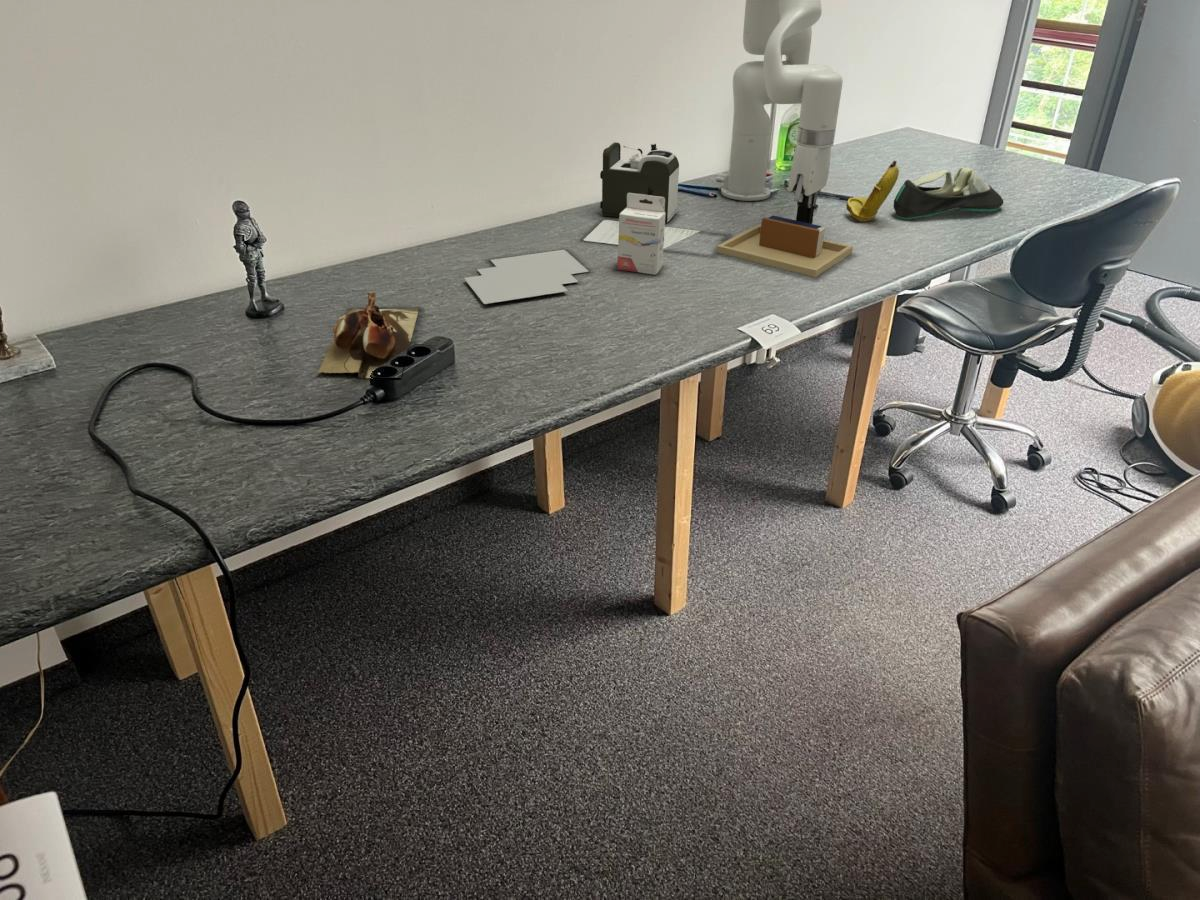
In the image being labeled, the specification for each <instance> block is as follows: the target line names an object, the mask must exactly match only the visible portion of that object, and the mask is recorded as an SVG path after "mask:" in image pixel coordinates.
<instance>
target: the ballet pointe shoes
mask: <svg viewBox="0 0 1200 900" xmlns="http://www.w3.org/2000/svg"><path fill="white" fill-rule="evenodd" d="M366 294H367V300H366V306H365V308H364V309H361V308H360V309H349V310H348V312H347V313H344V314H343V315H342V316H340V317H339V318H338V319H336V325H335V326H334V327H333V329H332V331H333V339H332V341H331V343H330V346H329V347H328V350H327V352H326V353H325V355H324V358H323V359H322V363H320V367H319V368H318V371H316V372H317V374H321V373H324V374H332V373H333V374H336V373H337V374H345V373H347V374H348V373H349V374H354V373H357V377H358V379H361V380H362V379H372V378H371V377H370V375H371V373H372V371H374V370H375V369H376V368H378V367H379V366H380V365H382V364H384V363H386V362H388V361H389V360H390V359H391V358H393V357H395V356H396V355H398V354H400V353H401V352H403V351H405V350H407V349H409V350H410V344H411V343H412V338H413V334H414V330H415V327H416V321H417V318H418V316H419V315H418V314H419V310H420V308H419V307H413V308H412V307H409V308H408V307H405V308H403V307H402V308H380V306H379V305H378V306H377V305H375V304H376V298H377V297H376V295H377V294H376V292H375V291H366Z"/></svg>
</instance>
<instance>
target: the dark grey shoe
mask: <svg viewBox="0 0 1200 900" xmlns="http://www.w3.org/2000/svg"><path fill="white" fill-rule="evenodd" d="M943 176H945V181H944V183H943V185H942V186H937V187H935V186H934V187H931V186H929V187H926V186H922V185H925V184H928V183H932V182H935V181H937V180H940V179H941V178H942V177H943ZM952 177H953V176H952V173H951V171H949V170H948V169H942V170H937V171H933V172H930V173H926V174H925V175H923V176H920V177H919V178H918V179H917V180H916V181H914V182H912V181H911V180H910V179H906V180H905V181H904V183H903V184H902V185H901V187H900V189H899V190H898V192H897V193H896V195H895V198H894V200H893V210H894V212H895V214H894V215H895V217H896V218H898V219H901V220H915V219H916V220H917V219H922V218H925V217H926V218H927V217H931V216H934V215H939V214H942V213H945V212H949V211H951V210H955V209H960V210H964V211H971V212H995V211H996V212H997V211H998V210H1000V207H1002V206H1003V204H1004V202H1005V201H1004V199H1003V198H1002V196H1001V195H1000V194H999V193H998V192H997V191H996V190H995V189H994V188H993V187H992V186H991V185H990V184H988V183H986V181H985V180H984V179H983V177H982V176H981V174H979V173H978V172H977V171H976V170H974V169H973V168H970V167H968V166H963V167H960V168H959V169H958V171H957V173H956V174H955V175H954V178H952Z"/></svg>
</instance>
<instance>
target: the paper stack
mask: <svg viewBox="0 0 1200 900" xmlns="http://www.w3.org/2000/svg"><path fill="white" fill-rule="evenodd" d="M490 261H491V263H492V264H493V265H494V266H492V267H491V266H490V267H485V268H477V269H476V270H477V272H478V273H479V274H480V275H475V276H469V277H463V279H464V280H465V282H466V283H467V284H468V285H469V287H470V288H471V290H472V291H473V292H474V293H475V294H476V296H477V298H478V299H479V300H480V302H482V303H483V304H484V305H488V304H494V303H501V302H508V301H513V300H521V299H526V298H534V297H540V296H545V295H546V296H547V295H552V294H559V293H566V292H569V290H568V289H567V288H566V287H565V286H564V285H567V284H573V283H574V284H575V283H579V280H577V279H576V277H574V276H573V275H575V274H582V273H583V274H584V273H589V269H587V268H586V267H585V266H584V265H583V264H582V263H580V261H578V260H577V259H576V258H575V257H574V256H572V255H571V254H570V253H569V252H568V251H567V250H566V249H557V250H552V251H551V250H550V251H543V252H537V253H530V254H522V255H516V256H508V257H501V258H494V259H490Z"/></svg>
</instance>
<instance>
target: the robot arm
mask: <svg viewBox="0 0 1200 900" xmlns="http://www.w3.org/2000/svg"><path fill="white" fill-rule="evenodd" d="M821 3H822V2H821V0H745V6H744V7H745V8H744V18H743V19H744V20H743V32H742V43H743V48H744V51H745V52H746V53H747V54H750V55H754V56H763V60H754V61H747V62H743V63H742V64H740V65H739V66H738V67H737V68H736V69H735V70H734V73H733V76H732V95H733V116H732V117H733V119H732V130H731V131H732V132H731V143H730V152H729V153H730V154H729V166H728V173H725V172H720V171H718V172H717V173H716V175H715V182H717V183H722V184H723V186H722V187H721V188H720V194H721V195H722V196H723V197H724V198H727V199H730V200H734V201H742V202H756V201H757V202H758V201H764V200H766V199H769V197H770V196H771V189H770V188H768V187H766V182H767V172H768V162H769V155H770V146H771V137H772V129H773V128H772V126H773V125H772V119H771V118H770V115H769V114H768V112H767V110H766V109H765V107H764V106H765V105H770V104H777V105H796V104H797V105H798V104H800V111H799V119H798V127H797V133H796V146H795V150H794V154H793V157H792V162H791V167H790V172H789V177H788V178H789V179H788V185H787V192H788V193H791V194H792V193H794V198H793V201H794V202H796V207H797V209H796V214H795V215H796V216H795V220H796V221H801V222H805V223H810V224H813V221H814V214H815V208H816V207H815V206H816V204H817V200H818V194H819V193H820V192H821V191H822V189H824V188H825V187H826V186H827V183H828V180H829V172H830V164H831V155H832V147H833V146H834V142H835V137H836V129H837V123H838V116H839V109H840V103H841V96H842V90H843V77H842V75H841V74H840V73H838V72H836V71H834V70H833V69H832V67H831V66H829V65H827V64H809V63H810V62H809V61H810V54H811V47H812V46H811V45H812V36H813V35H812V34H813V31H812V27H813V26H814V25H815V24H817V22H819V20H820V18H821V16H822V4H821ZM782 56H785V60H783V59H782Z"/></svg>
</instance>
